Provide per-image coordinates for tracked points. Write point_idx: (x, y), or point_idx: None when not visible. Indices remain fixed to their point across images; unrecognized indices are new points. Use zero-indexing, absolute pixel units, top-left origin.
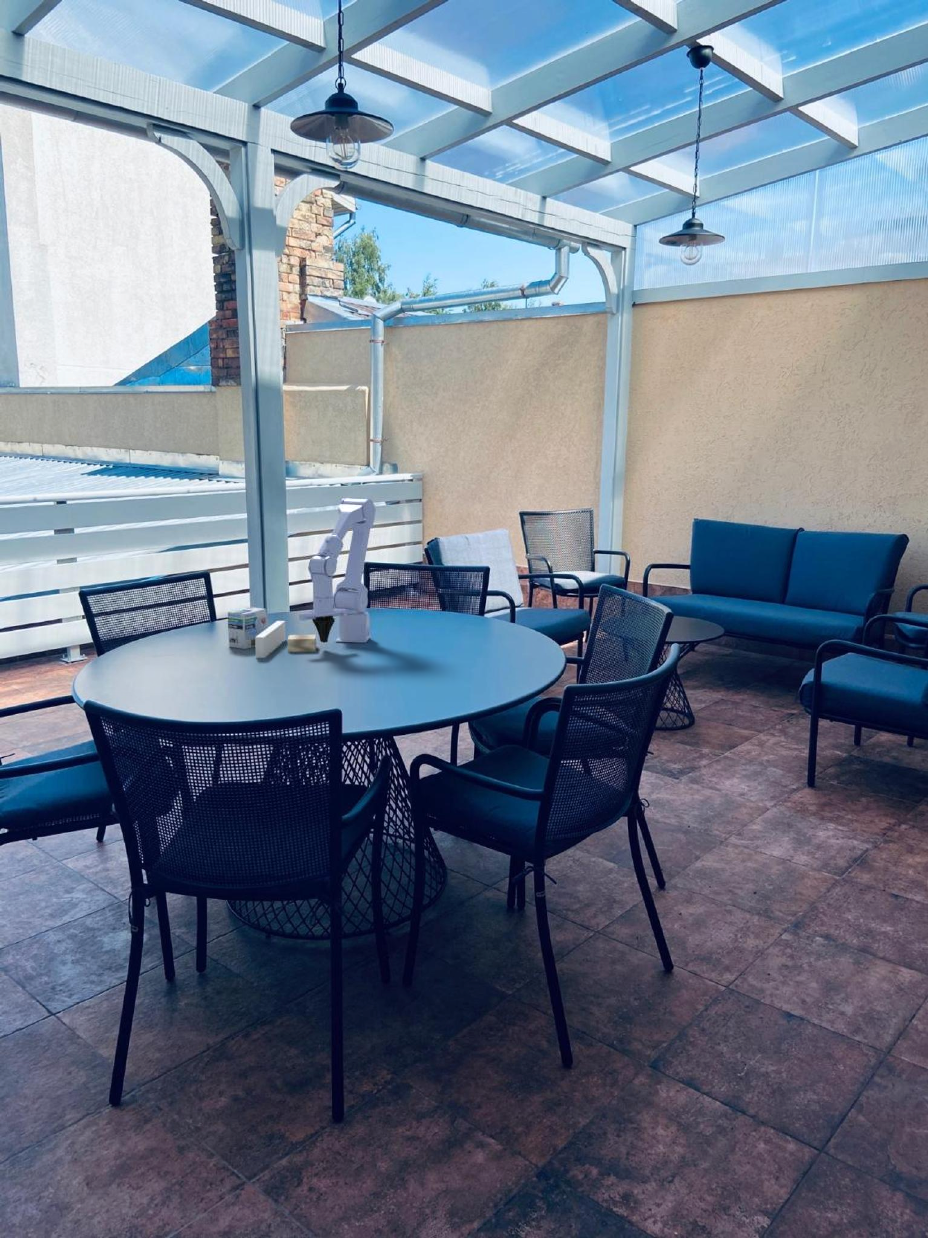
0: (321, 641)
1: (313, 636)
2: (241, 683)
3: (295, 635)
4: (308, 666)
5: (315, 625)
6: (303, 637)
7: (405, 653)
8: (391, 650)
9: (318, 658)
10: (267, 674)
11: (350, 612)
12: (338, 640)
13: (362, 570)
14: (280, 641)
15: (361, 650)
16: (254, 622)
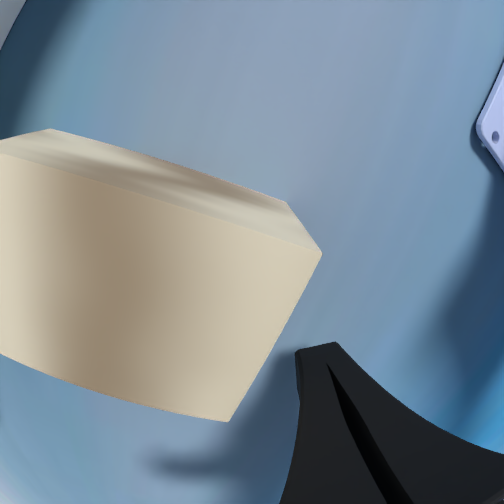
0: (297, 370)
1: (250, 336)
2: (9, 488)
3: (34, 202)
4: (142, 492)
5: (283, 499)
6: (121, 345)
7: (486, 414)
8: (498, 382)
9: (198, 452)
10: (37, 484)
11: None
12: (491, 141)
13: None
14: (8, 2)
15: (445, 373)
16: None
